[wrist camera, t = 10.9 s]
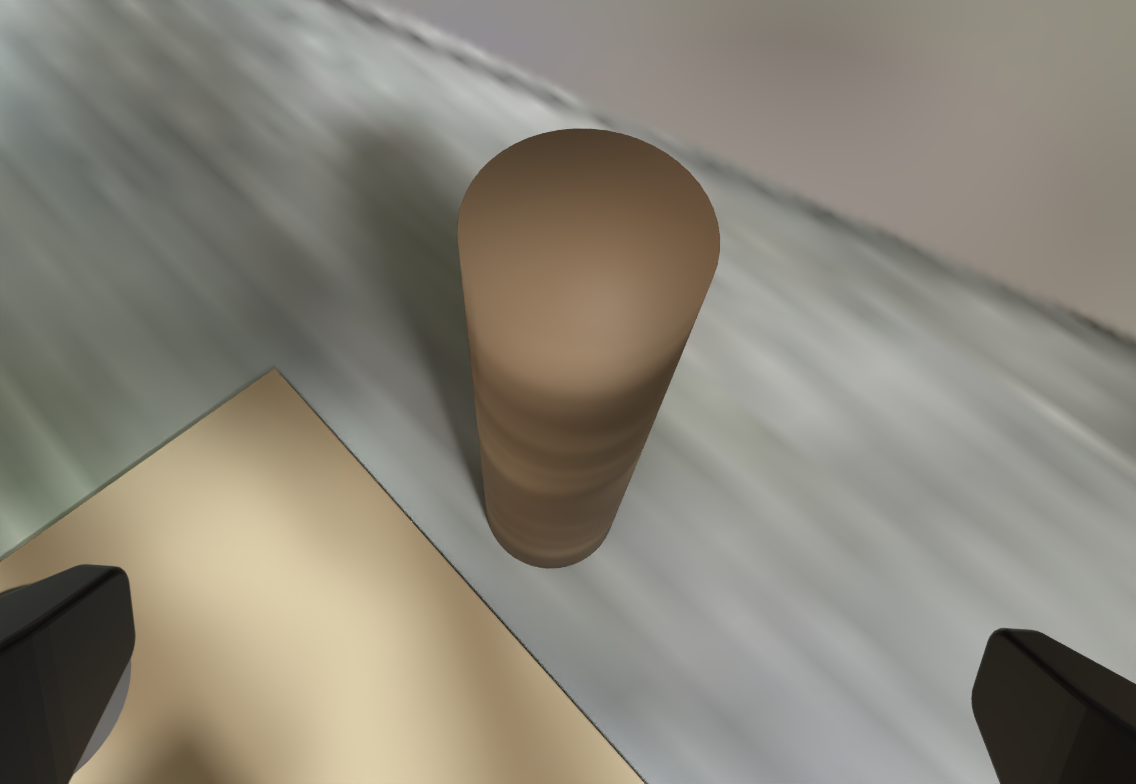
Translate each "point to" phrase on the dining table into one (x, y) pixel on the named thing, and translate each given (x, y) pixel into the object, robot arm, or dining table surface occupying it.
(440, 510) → the dining table surface
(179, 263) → the dining table surface
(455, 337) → the dining table surface
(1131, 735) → the robot arm
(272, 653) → the board
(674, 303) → the peg
